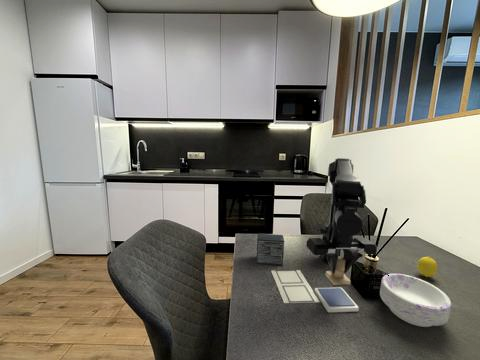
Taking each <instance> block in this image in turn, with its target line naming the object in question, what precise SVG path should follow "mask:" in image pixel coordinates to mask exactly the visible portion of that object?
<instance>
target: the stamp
mask: <svg viewBox="0 0 480 360" xmlns="http://www.w3.org/2000/svg"><path fill="white" fill-rule="evenodd" d="M343 257H344V256H343ZM343 257H342V256H341V255H340V256H338V260H337V264H336V269H335V272H334V274H332V273H331V270H326V271H325V277H326V278H327V280H328V281H329V282H330V283H331V285H332V287H345V286H346V287H350V286H351V283H352V281H351V280H350V278H349V277H347V275H346V273H345V274H344V270H345V261H346V260H345V259H344V258H343Z"/></svg>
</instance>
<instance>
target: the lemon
mask: <svg viewBox="0 0 480 360" xmlns="http://www.w3.org/2000/svg"><path fill="white" fill-rule="evenodd" d="M417 271H418V272H419V273H420V275H422V276H423V277H424V276H425V277H424V278H428V277H430V278H432V277H434V276H435V275H436V274H437V272H438V264H437V262H436V261H435V259H434V258H431V257H430V256H422V257H421V258H420V259H419V260H418V261H417Z"/></svg>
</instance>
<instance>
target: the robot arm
mask: <svg viewBox="0 0 480 360" xmlns="http://www.w3.org/2000/svg"><path fill="white" fill-rule="evenodd" d="M327 177H329V179H328V180H329V182H330V184H331V198H330V199H331V200H330V208H329V209H330V211H329V221H328V222H327V224H325V223H317V225H316V233H317V234H318V235H321V237H309V238H308V239H307V240H306V247H307V249H308V250H309V251H310V252H311V253H312V254H313V255H314V256H320V258H321V259H322V260H323V261H324V263H326V264H328V266H329V271H331V273H332V274H334V272H335V269H336V264H337V260H338V256H340V257H341V253H342V252H341V251H343V258H344V259H345V260H346V261H345V270H344V274H345V275H346V274H347V272H348V271H349V270H350V268H352V266H353V265H354V264H355V263H356V262H357V261H358V260H359V259H360V258H363V256H364V254H362V253H361V250H363V252H364V253H365V254H366V255H368V256H369V255H371V256H375V255H377V252H378V246H377V245H376V243H374V242H372V241H371V240H369V239H368V238H366V237H354V236H356V235H358V234H359V233H360V232H361V231H362V229H363V222H362V218H361V217H360V216H359V214H358V209H364V208H365V205H366V203H367V197H366V196H367V195H366V189H365V186H364V185H363V184H362V181H361V180H360V178H359V177H357V176H354V164H353V163H352V159H350V158H343V157H342V158H341V157H340V158H339V157H338V158H335V160H334V161H333V162H331V163H329V164H328V168H327Z"/></svg>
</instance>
